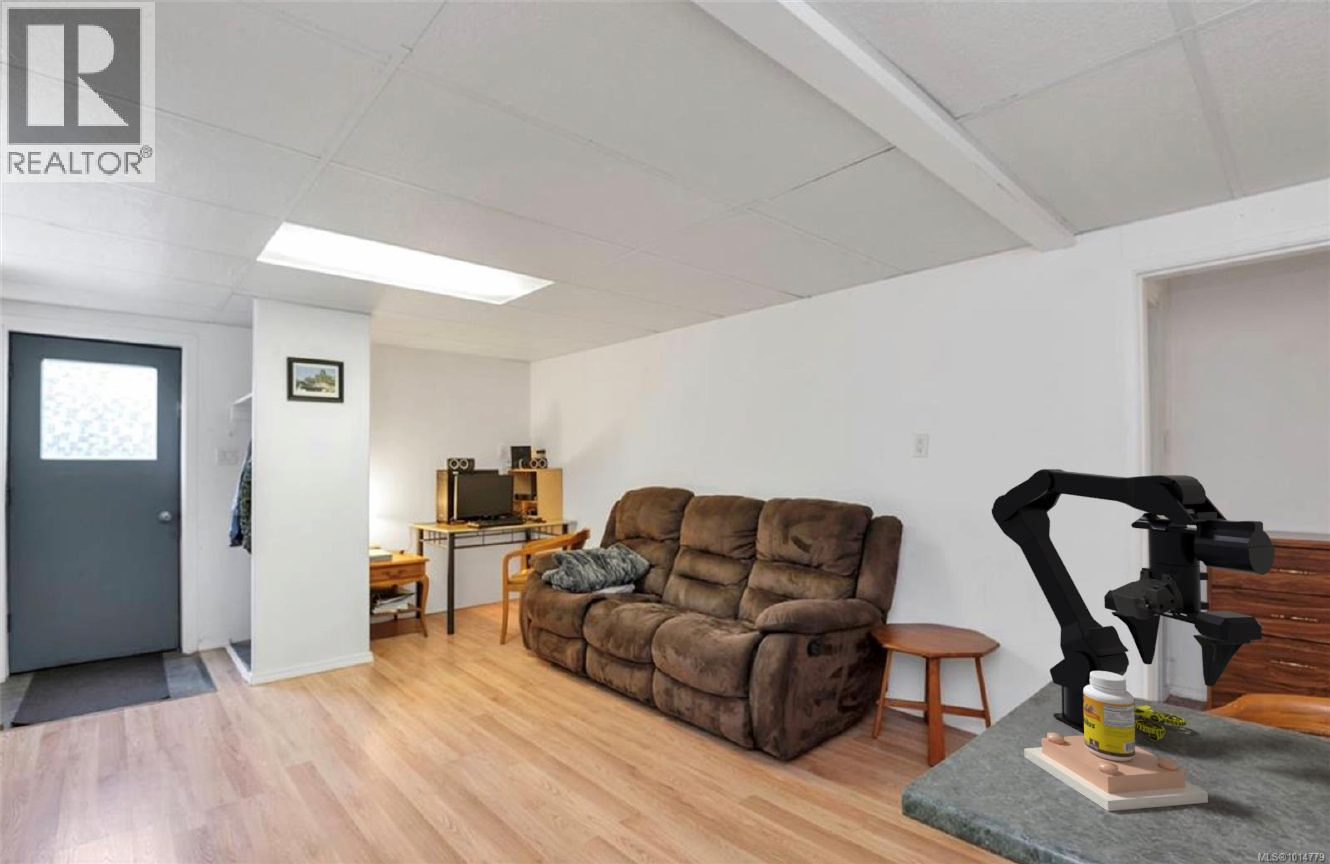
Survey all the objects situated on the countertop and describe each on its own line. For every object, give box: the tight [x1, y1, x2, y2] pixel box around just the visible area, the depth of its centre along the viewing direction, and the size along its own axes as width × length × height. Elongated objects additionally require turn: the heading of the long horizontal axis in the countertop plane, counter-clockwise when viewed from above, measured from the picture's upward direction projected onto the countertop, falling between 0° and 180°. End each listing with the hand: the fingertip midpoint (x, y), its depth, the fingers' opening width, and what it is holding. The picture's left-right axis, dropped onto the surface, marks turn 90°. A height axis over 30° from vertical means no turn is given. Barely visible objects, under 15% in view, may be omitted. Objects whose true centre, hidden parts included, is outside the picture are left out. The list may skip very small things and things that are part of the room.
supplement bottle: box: [1083, 671, 1136, 761], centre depth 84 cm, size 6×6×10 cm
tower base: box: [1024, 731, 1209, 812], centre depth 84 cm, size 14×14×4 cm
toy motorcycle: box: [1134, 698, 1187, 742], centre depth 99 cm, size 12×4×7 cm
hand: (1177, 674), depth 90 cm, fingers open, 9 cm apart
